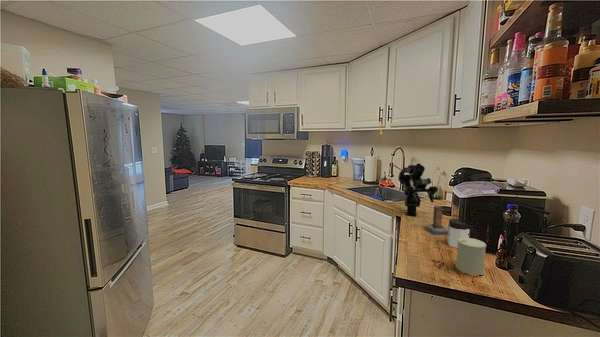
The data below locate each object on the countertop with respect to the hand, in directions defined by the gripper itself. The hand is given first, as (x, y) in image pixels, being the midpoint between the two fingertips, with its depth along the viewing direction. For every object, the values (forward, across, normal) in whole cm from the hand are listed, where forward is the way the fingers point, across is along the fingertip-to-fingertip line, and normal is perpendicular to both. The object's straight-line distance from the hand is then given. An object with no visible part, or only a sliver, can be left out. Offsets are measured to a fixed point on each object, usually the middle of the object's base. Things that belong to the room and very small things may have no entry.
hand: (425, 202), depth 148 cm
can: (+48, -9, -28) cm, 56 cm away
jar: (+31, +1, -12) cm, 34 cm away
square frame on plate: (+18, +1, +1) cm, 18 cm away
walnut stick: (+17, +1, 0) cm, 17 cm away
